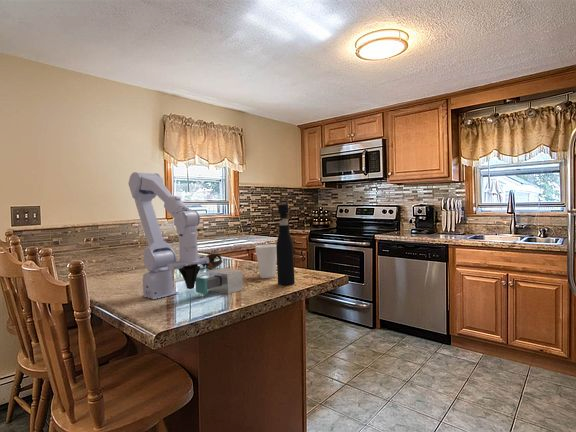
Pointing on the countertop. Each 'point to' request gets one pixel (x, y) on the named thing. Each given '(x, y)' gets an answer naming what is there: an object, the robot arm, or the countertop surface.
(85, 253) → the countertop surface
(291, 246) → the wine bottle
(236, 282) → the block
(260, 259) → the foam cup
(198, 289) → the shaft
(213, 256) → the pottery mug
